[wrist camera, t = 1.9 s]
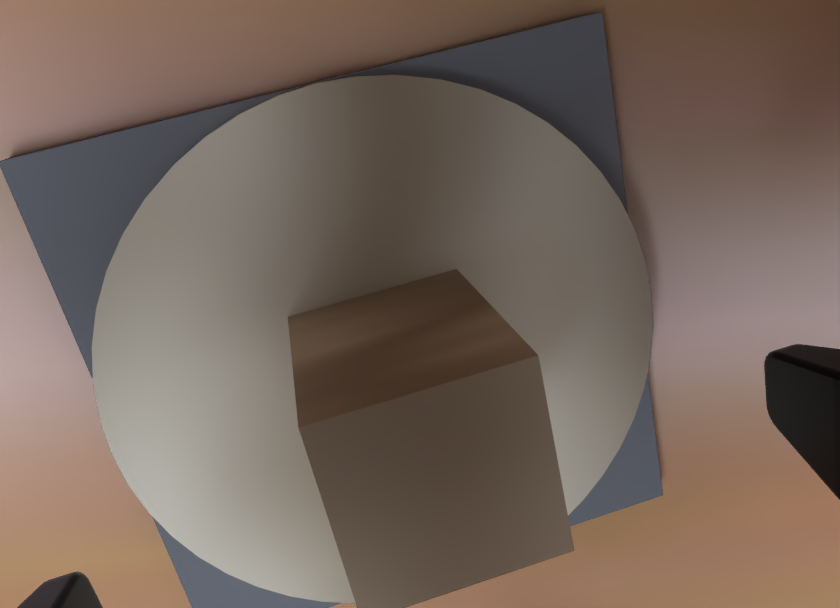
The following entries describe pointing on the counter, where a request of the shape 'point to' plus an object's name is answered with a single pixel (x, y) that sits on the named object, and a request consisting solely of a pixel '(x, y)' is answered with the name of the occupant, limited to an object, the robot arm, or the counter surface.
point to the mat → (172, 138)
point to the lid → (373, 341)
